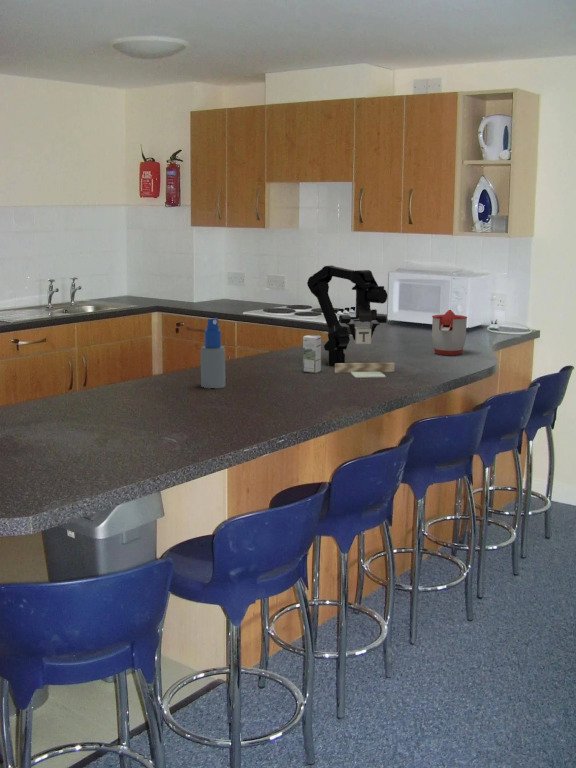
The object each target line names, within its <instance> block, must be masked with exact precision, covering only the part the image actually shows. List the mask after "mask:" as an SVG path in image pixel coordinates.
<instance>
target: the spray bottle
mask: <svg viewBox="0 0 576 768" xmlns="http://www.w3.org/2000/svg"><path fill="white" fill-rule="evenodd" d="M200 387H201V388H203V387H204V389H210V388H215V389H223V388H225V387H226V348H225V346H223V345H222V330H221V329H220V326H219V320H218V317H212V318H207V325H206V329H205V330H204V345H203V346H201V348H200Z"/></svg>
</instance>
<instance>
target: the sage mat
mask: <svg viewBox="0 0 576 768" xmlns="http://www.w3.org/2000/svg"><path fill="white" fill-rule="evenodd" d="M350 374H351V375H352V376H353V377H354V378H356V379H358V378H359V379H360V378H363V379H365V378H366V379H367V378H387V376H386V375H385V374H384V372H350Z"/></svg>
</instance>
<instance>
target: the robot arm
mask: <svg viewBox="0 0 576 768" xmlns="http://www.w3.org/2000/svg"><path fill="white" fill-rule="evenodd" d="M333 277H335V278H339V279H344V280H347V281H350V282H351V283H352V284H354V286H352V287H351V290H353V291H355V316H351V315H349V314H340V315H339V316H337V314H336V310H335V308H334V306H333V302H332V301H331V298H330V296H329V289H330V286H329V284H330V282H331V281H332V279H333ZM307 287H308V289H309V291H310V292H311V294H312V295H313V296H314V297H316V299H317V302H318V304H319V307H320V309H321V313H322V315H323V317H324V320H325V322H326V325H327V328H328V331H327V337H328V340H327V342H326V343H324V345H323V348H324V351H327V362H326V364H327V365H328V366H333V367H335V363H346V353H345V352H344V351H345V350H347V348H348V345H349V343H350V340H351V338H350V336H351V335H350V333H351V334H352V338H353V339H352V340H353V341H354V340H355V327H356V324H355V322H360V323H365V322H367V323H369V328H371V339H372V337H373V336H374V335H373V334H374V332H375V330H376V328H377V327H378V326H380V324H387V323H388V321H387V318H388V317H387V316H386V315H385V314H378V309H371V303H373V304H386V302H387V300H388V292H387V290H386V289H385V286H383V285H378V282H377V280H376V279H375V277H374V275H373V272H372V270H369V269H361V270H359V269H357V270H353V269H348V268H345V267H339V266H334V265H324V266H323V267H322V268H321V269H320V270H318V271H317V272H315V273H314V274H312V275H311V276H309V277H308V280H307ZM341 324H345V325H346V326H348V327H346V326H342V325H341ZM348 328H349V330H350V333H349V331H348Z"/></svg>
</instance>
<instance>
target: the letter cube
mask: <svg viewBox="0 0 576 768" xmlns="http://www.w3.org/2000/svg"><path fill="white" fill-rule="evenodd" d="M353 343H355V344H356V345H367V344H368V345H371V344H372V338H371V328H370V326H355V340H354V339H353Z"/></svg>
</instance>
